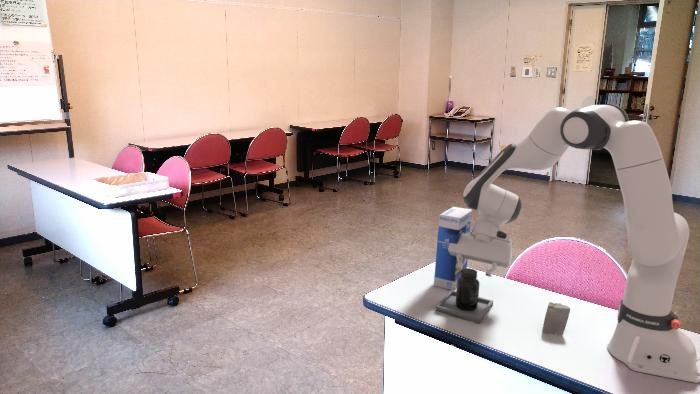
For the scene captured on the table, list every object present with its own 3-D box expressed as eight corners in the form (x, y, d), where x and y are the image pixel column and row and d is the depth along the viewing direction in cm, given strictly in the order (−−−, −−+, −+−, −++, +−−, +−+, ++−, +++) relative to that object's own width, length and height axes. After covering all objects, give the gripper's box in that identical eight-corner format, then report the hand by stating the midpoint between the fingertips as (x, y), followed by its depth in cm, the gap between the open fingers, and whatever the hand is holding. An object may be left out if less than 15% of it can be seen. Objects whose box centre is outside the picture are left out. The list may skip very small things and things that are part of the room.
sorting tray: (492, 305, 167) (493, 300, 167) (479, 323, 155) (480, 318, 155) (450, 295, 174) (451, 290, 173) (435, 311, 162) (435, 306, 161)
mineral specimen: (575, 334, 150) (573, 309, 148) (544, 338, 151) (542, 313, 148) (566, 320, 157) (564, 296, 155) (536, 324, 158) (534, 301, 156)
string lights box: (453, 291, 177) (459, 218, 170) (432, 285, 180) (437, 214, 174) (466, 278, 188) (473, 209, 181) (446, 273, 191) (452, 205, 185)
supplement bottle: (475, 302, 167) (479, 267, 164) (478, 312, 160) (482, 276, 157) (453, 301, 168) (457, 266, 165) (456, 310, 161) (459, 274, 158)
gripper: (453, 224, 176) (440, 260, 170) (515, 236, 166) (504, 275, 160) (456, 233, 180) (444, 269, 175) (516, 245, 171) (506, 283, 165)
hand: (473, 272), depth 167 cm, fingers open, 8 cm apart
